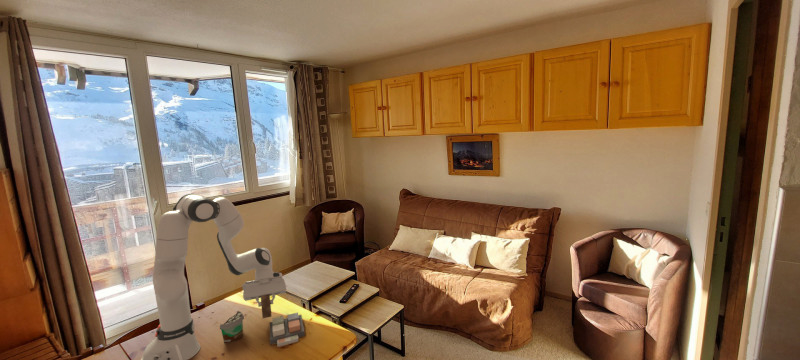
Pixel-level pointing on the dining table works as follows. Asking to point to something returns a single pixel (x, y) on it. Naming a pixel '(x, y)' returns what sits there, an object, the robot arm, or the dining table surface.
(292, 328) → the key terracotta
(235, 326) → the food container
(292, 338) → the keypad
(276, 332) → the key cream
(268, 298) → the dark brown block
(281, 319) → the key sage
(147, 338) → the dining table surface
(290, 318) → the key slate
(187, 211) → the robot arm
